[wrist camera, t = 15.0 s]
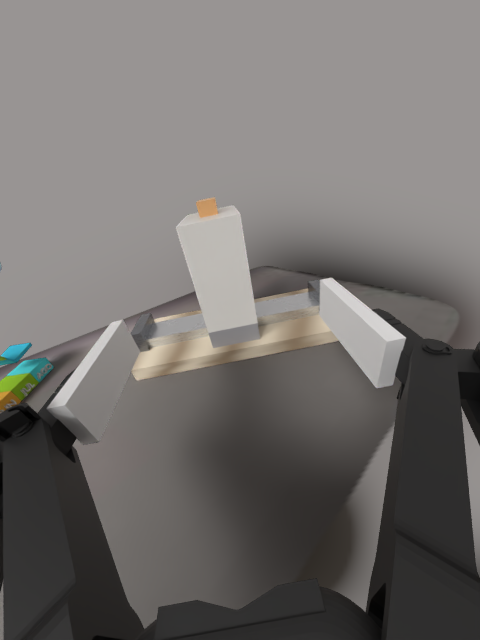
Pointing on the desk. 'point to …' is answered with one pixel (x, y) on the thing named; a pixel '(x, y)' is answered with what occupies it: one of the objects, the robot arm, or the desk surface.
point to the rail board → (205, 355)
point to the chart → (20, 375)
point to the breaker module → (220, 272)
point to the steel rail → (195, 327)
